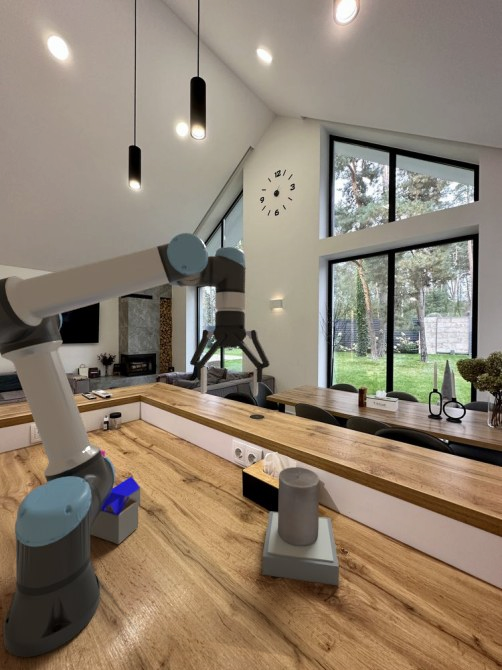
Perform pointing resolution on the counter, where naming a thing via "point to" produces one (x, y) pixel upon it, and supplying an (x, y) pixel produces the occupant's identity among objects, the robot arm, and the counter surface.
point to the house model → (118, 513)
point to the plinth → (301, 555)
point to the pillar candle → (298, 506)
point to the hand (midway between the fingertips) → (229, 394)
